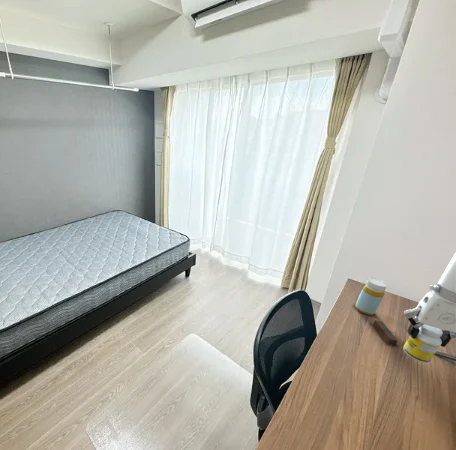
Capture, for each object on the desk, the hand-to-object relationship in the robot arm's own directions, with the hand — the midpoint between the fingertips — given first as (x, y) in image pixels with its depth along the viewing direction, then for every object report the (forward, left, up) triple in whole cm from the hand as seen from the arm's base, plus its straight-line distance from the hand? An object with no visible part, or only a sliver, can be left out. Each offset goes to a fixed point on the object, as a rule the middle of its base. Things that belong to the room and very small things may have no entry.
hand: (425, 339), depth 78 cm
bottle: (+5, -28, -13) cm, 31 cm away
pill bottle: (0, 0, -7) cm, 7 cm away
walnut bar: (+2, -14, -12) cm, 19 cm away
